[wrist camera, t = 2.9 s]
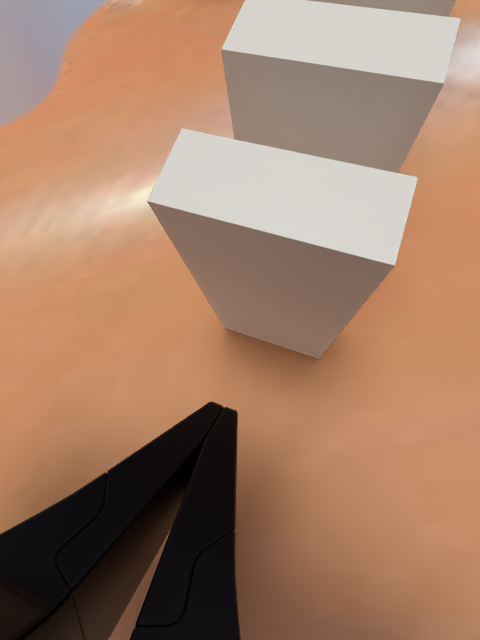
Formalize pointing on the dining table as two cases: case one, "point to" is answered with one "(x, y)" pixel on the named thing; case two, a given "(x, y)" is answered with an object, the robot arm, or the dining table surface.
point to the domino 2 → (335, 78)
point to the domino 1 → (280, 234)
